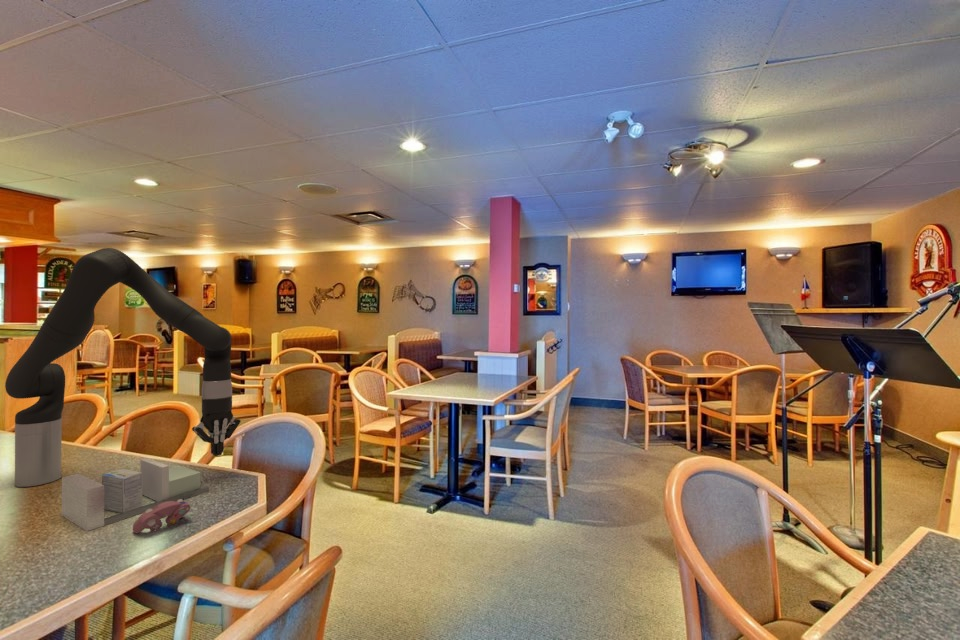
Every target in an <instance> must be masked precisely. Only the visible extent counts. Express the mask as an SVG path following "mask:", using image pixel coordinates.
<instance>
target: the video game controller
mask: <svg viewBox="0 0 960 640" xmlns="http://www.w3.org/2000/svg"><path fill="white" fill-rule="evenodd" d="M190 510H191V505H190V504H189V503H188V501H185V499H184V500H182V499H179V500H178V501H167V502H163V503H161V504H159V505H157V506H155V507H154V508H152V509H147V510H146V511H145V512H144V513H141V514H140V515H139V517H138V518H137V519H136V520H135V521H134V522H133V524H132V531H133V533H134V534H139V533H141V532H143V530H147V529H149V530H150V531H151V532H155V530H156V531H159V530H160V529H161V528H162V526H163V522H162V519H164V518H165V520H164V521H165V523H166V524H167V526H172V525H175V524H177V523H178V521H179V519H181V518H184V517H185V516H186V515H187V514H188V513H189V512H190Z"/></svg>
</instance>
